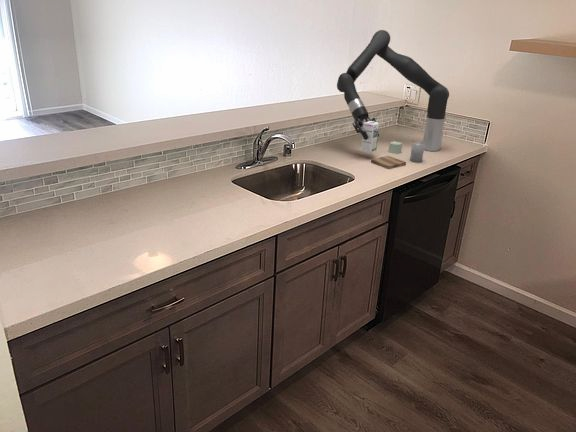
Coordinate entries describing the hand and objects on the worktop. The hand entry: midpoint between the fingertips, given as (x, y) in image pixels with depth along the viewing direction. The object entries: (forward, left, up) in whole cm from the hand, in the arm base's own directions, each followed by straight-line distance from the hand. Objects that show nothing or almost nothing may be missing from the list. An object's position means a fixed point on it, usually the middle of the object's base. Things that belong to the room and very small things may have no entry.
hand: (372, 138), depth 236 cm
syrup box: (0, -2, -7) cm, 7 cm away
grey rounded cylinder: (-18, +15, -11) cm, 25 cm away
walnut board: (-2, +11, -11) cm, 15 cm away
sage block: (-20, -1, -11) cm, 23 cm away
